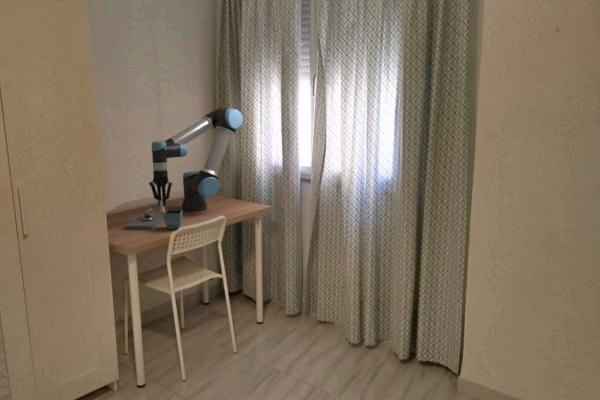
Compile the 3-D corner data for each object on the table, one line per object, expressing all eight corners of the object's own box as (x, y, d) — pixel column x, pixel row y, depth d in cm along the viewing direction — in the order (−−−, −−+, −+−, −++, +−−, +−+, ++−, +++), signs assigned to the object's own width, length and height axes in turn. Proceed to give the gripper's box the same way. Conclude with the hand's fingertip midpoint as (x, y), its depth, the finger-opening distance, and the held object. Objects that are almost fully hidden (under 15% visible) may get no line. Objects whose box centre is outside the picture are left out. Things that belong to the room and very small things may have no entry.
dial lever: (151, 221, 273) (150, 213, 272) (140, 221, 273) (139, 213, 272) (158, 215, 284) (157, 208, 283) (147, 215, 284) (147, 208, 283)
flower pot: (167, 226, 271) (166, 209, 269) (183, 225, 272) (182, 209, 270) (164, 230, 263) (163, 214, 261) (181, 230, 264) (180, 213, 262)
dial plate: (163, 219, 284) (163, 216, 283) (151, 229, 264) (150, 225, 264) (138, 219, 284) (138, 215, 284) (125, 229, 265) (124, 225, 264)
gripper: (174, 168, 278) (176, 210, 283) (150, 168, 279) (153, 209, 284) (169, 170, 271) (172, 213, 276) (146, 170, 271) (148, 213, 276)
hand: (162, 211), depth 280 cm, fingers closed
